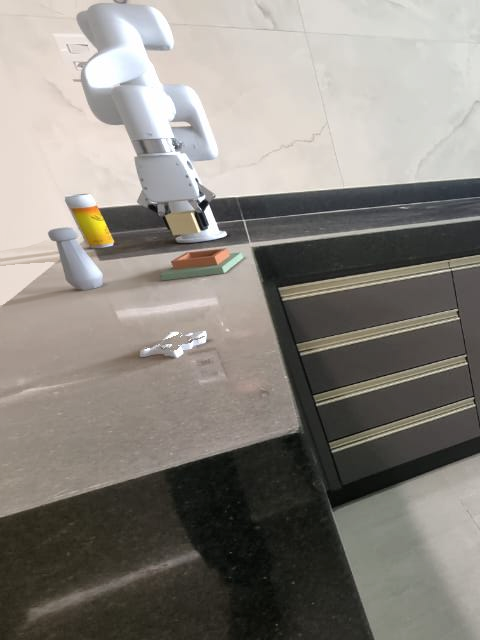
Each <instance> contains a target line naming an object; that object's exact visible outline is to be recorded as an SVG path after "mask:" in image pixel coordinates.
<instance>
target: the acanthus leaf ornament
mask: <svg viewBox="0 0 480 640" xmlns="http://www.w3.org/2000/svg"><path fill="white" fill-rule="evenodd" d="M178 334H179V331H170V332H168V333H167V334H165V336H164V337H163V338H162V339H161V340H165V339H168V338H171V337H173V336H176V335H178ZM184 335H185V336H191V337H192V338H190V339H189V340H188V341H190V340H191V339H194V338H200V337H202V336H205V337H203V338H201V339H198V340H193V341H192V342H191V343H188V344H182V345H178V346H180V347H179V348H178V349H177V350H174V351H172V350H170V351H168V350H165V351H163V350H162V349H161V348H156V347H159V346H161V345H160V344H158V343H157V344H158V345H157V344H155V345H153V346H152V347H146V348H147V349H144V350H142V349H143V348H141V349H140V350H139V357H140V358H146V357H150V356H154V355H163V356H164V357H171V358H174V359H177V358H179V357H181V356H182V355H183V354H184V351H187V350H191V349H192V348H193V347H196V346H199V345H203V344H205V343H206V342H207V332H206V330H202V331H196V332H194V333H193V332H189V333H186V334H184ZM181 336H183V334H182V335H181ZM181 336H180V337H181ZM171 346H172V344H165V345H162V346H161V347H162V348H163V349H164V348H165V347H167V348H170V347H171Z"/></svg>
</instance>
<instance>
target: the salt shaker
mask: <svg viewBox="0 0 480 640" xmlns="http://www.w3.org/2000/svg"><path fill="white" fill-rule="evenodd" d="M47 235H48V238H49V239H50V241H52V242H56V247H57V250H58V254H59V258H60V262H61V266H62V270H63V273H64V277H65V280H66V282H67V283H68V284H69V285H71V286H72V287H73V288H74V289H75V290H76V291H87V290H93V289H97V288H100V287H102V286H103V279H104V278H103V277H104V275H103V273H102V271H101V270H100V268H99V267H98V266H97V265H96V263H95V262H94V260H92V258H91V257H90V256H89V254H87V252H86V250H85V249H84V248H83V247H82V245H81V244H80V243H79V241H78V240H77V239H78V238H79V233H78V231H76V229H75V228H73V227H67V226H66V227H58V228H53V229H50V230H49V231H48V232H47Z"/></svg>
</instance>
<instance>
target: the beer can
mask: <svg viewBox="0 0 480 640" xmlns="http://www.w3.org/2000/svg"><path fill="white" fill-rule="evenodd" d="M64 202H65V204H66V206H67V208H68V210H69V212H70V214H71V216H72V218H73V221H74V223H75V224H76V226H77V228H78V231H79V232H80V234H81V236H82V239H83V241H84V243H85V245H86V246H87V247H89V248H90V249H102V248H108V247H112V246H114V244H115V240H114V238H113V236H112V234H111V231H110V230H109V228H108V225H107V223H106V221H105V218H104V217H103V215H102V213H101V211H100V208H99V206H98V204H97V202H96V200H95V198H94V197H93V196H92V194H91V193H77V194H69V195H64Z"/></svg>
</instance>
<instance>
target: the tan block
mask: <svg viewBox="0 0 480 640" xmlns="http://www.w3.org/2000/svg"><path fill="white" fill-rule="evenodd" d="M194 214H195V210H189V211H177V212H173V213H171V212H170V214H168V215H165V217H166V220H167V222H168V224H169V227H170V229H171V231H170V233H171V232H172V233H171V234H172V236H181V235H182V234H192V233H199V232H201V231H202V230H200V228H199V225H198V223H197V220H196V218H195V215H194Z"/></svg>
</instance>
